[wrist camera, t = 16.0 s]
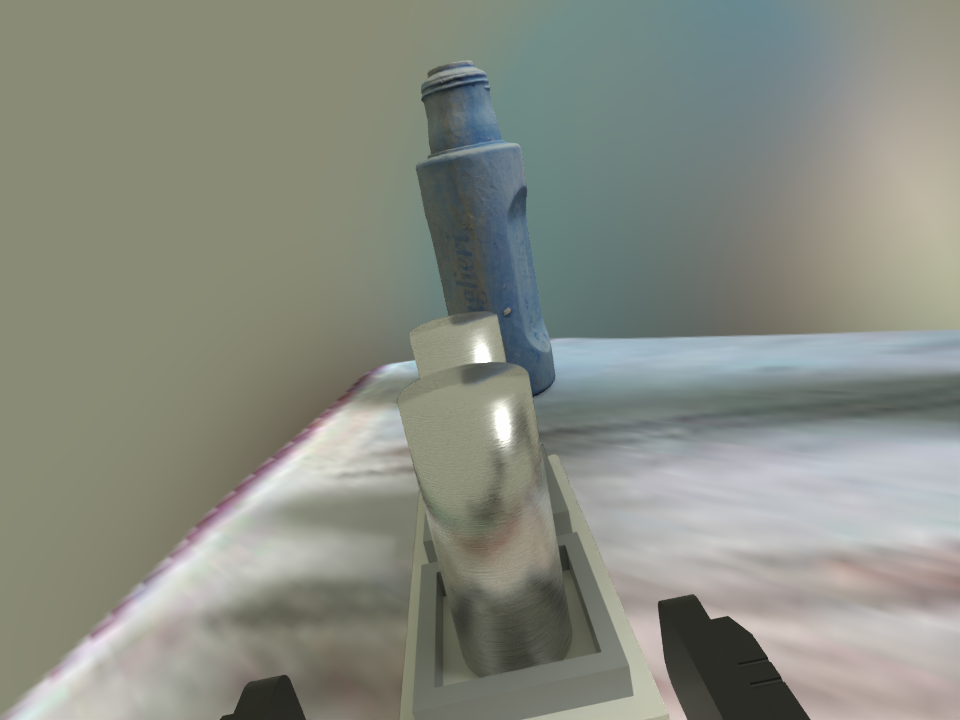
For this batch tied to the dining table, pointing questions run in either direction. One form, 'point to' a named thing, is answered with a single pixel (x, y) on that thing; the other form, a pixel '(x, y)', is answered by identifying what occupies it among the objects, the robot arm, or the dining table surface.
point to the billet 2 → (489, 513)
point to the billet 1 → (457, 342)
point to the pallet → (540, 689)
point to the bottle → (481, 216)
